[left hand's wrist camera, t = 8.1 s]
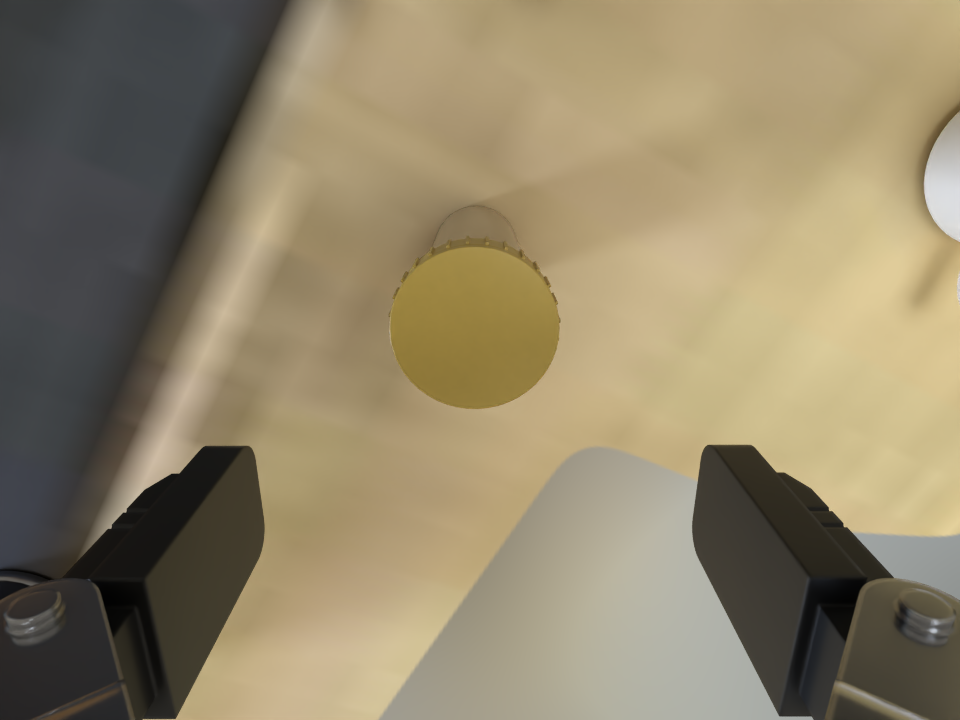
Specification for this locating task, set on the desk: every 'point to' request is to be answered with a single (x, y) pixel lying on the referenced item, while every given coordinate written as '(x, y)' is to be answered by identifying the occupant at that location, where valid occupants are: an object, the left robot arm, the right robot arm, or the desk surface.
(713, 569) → the left robot arm
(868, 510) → the desk surface
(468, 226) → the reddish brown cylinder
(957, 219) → the mug
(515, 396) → the lid
